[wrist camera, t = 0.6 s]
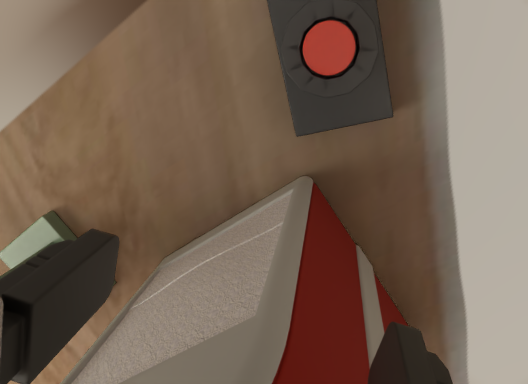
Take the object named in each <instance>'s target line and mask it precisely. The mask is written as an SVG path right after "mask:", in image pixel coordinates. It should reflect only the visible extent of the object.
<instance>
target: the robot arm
mask: <svg viewBox="0 0 528 384" xmlns="http://www.w3.org/2000/svg"><path fill="white" fill-rule="evenodd" d="M118 249H119V238H118V236H116V235H112V234H109V233H106V232H103V231H99V230H96V229H90V230H89V231H87V232H86V233H85V234H83V235H82V236H81V237H79V238H78V239H76V240H75V241H73V240H70V239H68V240H65V241H62V242H58V243H55V244H52V245H50V246H48V247H47V248H45V249H44V250H42V251H41V252H39V253H38V254H37V256H34V257H32V258H31V259H29V260H28V261H26V263H25V264H22V265H20V266H19V267H17V268H16V269H15V270H13V271H12V272H10V273H9V274H7V275H6V276H4V277H3V278H1V279H0V384H7V383H8V382H9V381H10V380H11V381H14V382H17V383H20V384H30V383H31V382H32V381H33V380H34V379H35V378H36V377H37V376H38V374H39V373H40V372H41V371H42V370H43V369H44V368H45V367H46V366H47V365H48V364H49V362H50V361H51V360H52V359H53V358H54V357H55V356H56V355H57V354H58V353H59V352H60V350H61V349H62V348H63V347H64V346H65V345H66V344H67V343H68V342H69V341H70V340H71V338H72V337H73V336H74V335H75V334H76V333H77V332H78V331H79V330H80V329H81V328H82V326H83V325H84V324H85V323H86V322H87V321H88V320H89V319H90V318H91V317H92V316H93V314H94V313H95V312H96V311H97V310H98V309H99V308H100V307H101V306H102V305H103V304H104V302H105V301H106V300H107V298H108V296H109V294H110V292H111V290H112V287H113V283H114V277H115V270H116V263H117V256H118ZM368 384H453V383H452V380H451V377H450V374H449V371H448V369H447V368H446V367H445V366H444V364H443V363H442V362H441V360H440V359H439V358H438V357H437V355H436V354H434V353H431V352H428V351H427V350H426V347H425V343H424V340H423V337H422V334H421V331H420V330H419V329H416V328H413V327H409V326H406V325H403V324H399V323H396V322H391V323H390V324H389V325H388V327H387V329H386V331H385V334H384V336H383V338H382V341H381V343H380V345H379V348H378V350H377V352H376V355H375V357H374V359H373V362H372V364H371V367H370V370H369V375H368Z"/></svg>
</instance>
